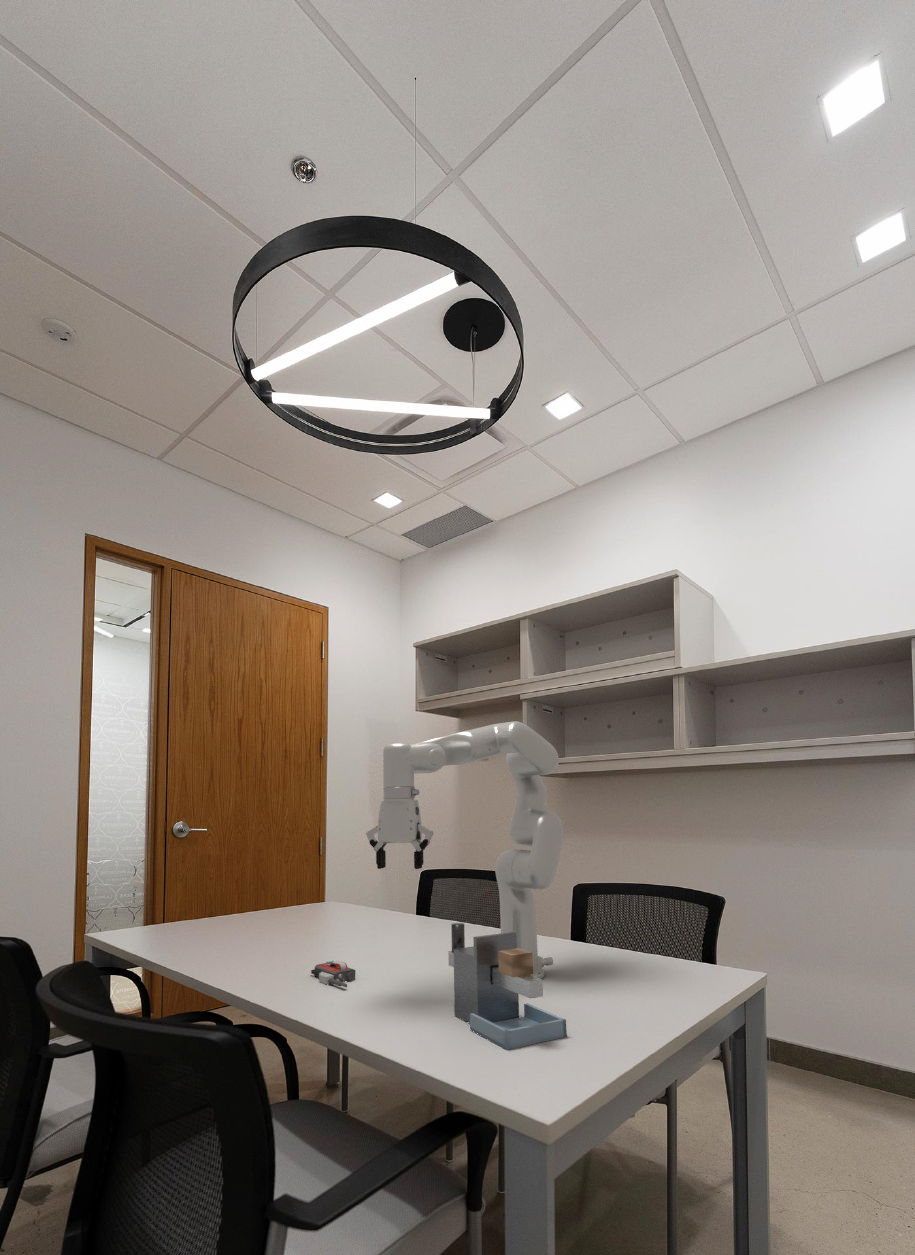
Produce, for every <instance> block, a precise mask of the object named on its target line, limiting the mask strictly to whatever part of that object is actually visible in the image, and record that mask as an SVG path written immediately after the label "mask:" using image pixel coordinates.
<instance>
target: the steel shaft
mask: <svg viewBox="0 0 915 1255" xmlns="http://www.w3.org/2000/svg"><path fill="white" fill-rule="evenodd" d="M465 939H466V938H465V923H464V922H463V923H462V922H455V923H454V922H453V923H451V950H449V951H448V966H449V967H452V968H454V949H458V948H466V945H465V944H466V942H465V941H466V940H465ZM490 979H491V983H493V984H496V985H498V986H501V987H503V988H505V989H508V990H510V991H513V992H515V993H518V995H520V996H523V997H525V998H528V999H529V1000H530V999H536V998H542V997H543V996H544V990H543V989H544V986H543V985H544V984H543V983H544V982H543V978H541V979H540V978H537V977H534V976H531V975H524V976H518V977H510V976H507V975H505V974H502V973H499V965H493V966H490Z"/></svg>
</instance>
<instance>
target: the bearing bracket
mask: <svg viewBox="0 0 915 1255" xmlns="http://www.w3.org/2000/svg"><path fill="white" fill-rule="evenodd" d="M472 939H473V946H465V948H458V949H454V967H453V983H454V984H453V991H454V992H453V996H454V997H453V998H454V999H453V1001H454V1002H453V1003H454V1006H453V1009H454V1017H456V1016H457V1017H456V1018H458V1019H460V1018H461V1019H460V1020H462V1019H463V1020H465V1021H468V1022H469V1023H470V1014H472V1013H474V1014H476V1015H478V1016H480V1017H482V1018H484V1019H486V1020H488V1021H490V1022H492V1023H493V1022H498V1021H503V1020H509V1019H514V1018H519V1017H520V1004H519V1003H520V1002H519V1000H520V999H519V998H520V997H519V994H518V993H515V992H513V991H510V990H508V989H505V988H503V987H501V986H498V985H496V984H493V983H491V979H490V966H493V965H499V959H498V951H502V950H509V949H516V948H517V935H516V932H508V933H501V932H500V933H493V934H485V935H478V936H473V938H472ZM463 1020H462V1021H463ZM465 1021H464V1022H465ZM469 1023H468V1024H469Z"/></svg>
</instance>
